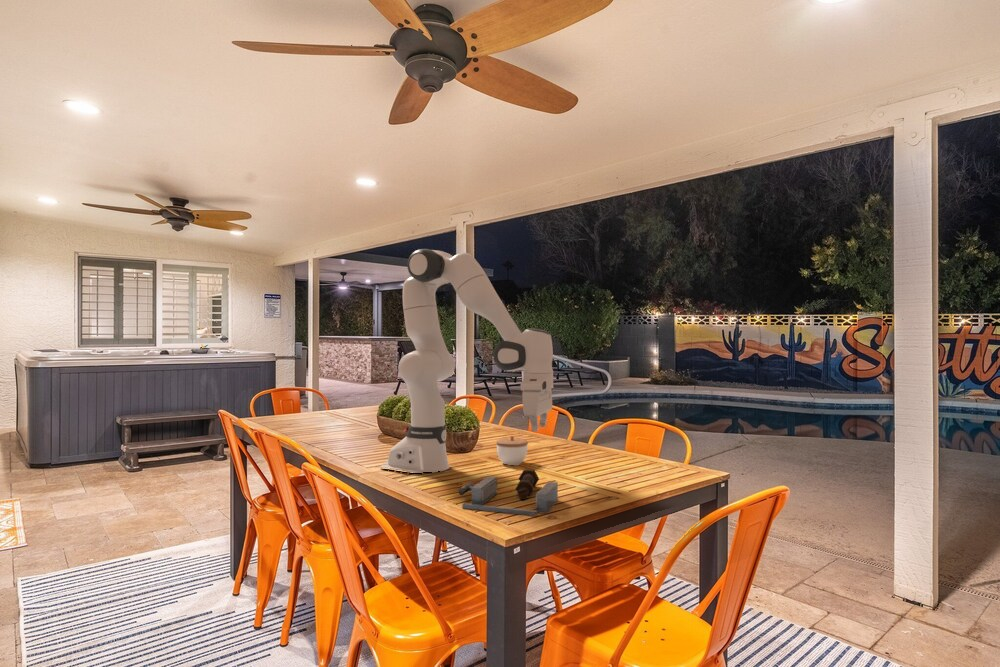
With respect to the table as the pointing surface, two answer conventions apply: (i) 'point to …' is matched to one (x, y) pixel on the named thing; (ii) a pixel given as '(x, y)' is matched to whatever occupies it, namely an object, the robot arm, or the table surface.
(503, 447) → the lidded jar
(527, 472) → the bolt
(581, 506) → the table surface
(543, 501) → the vise
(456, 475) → the table surface
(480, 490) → the jaw
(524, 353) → the robot arm
